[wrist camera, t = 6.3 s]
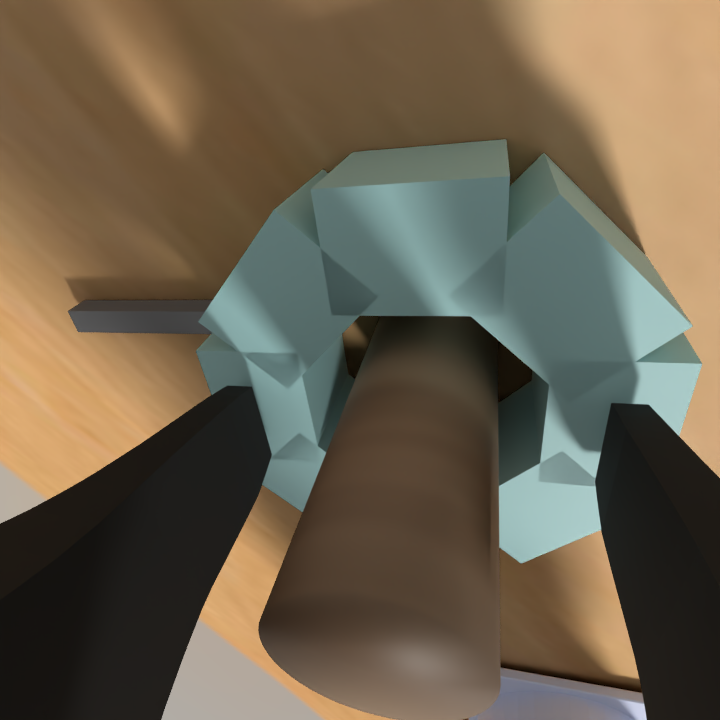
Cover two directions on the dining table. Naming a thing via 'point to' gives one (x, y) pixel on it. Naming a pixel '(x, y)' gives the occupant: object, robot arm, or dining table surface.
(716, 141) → the dining table surface
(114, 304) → the long slate grey beam
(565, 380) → the teal bead
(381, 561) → the dowel
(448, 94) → the dining table surface
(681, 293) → the dining table surface
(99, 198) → the dining table surface
